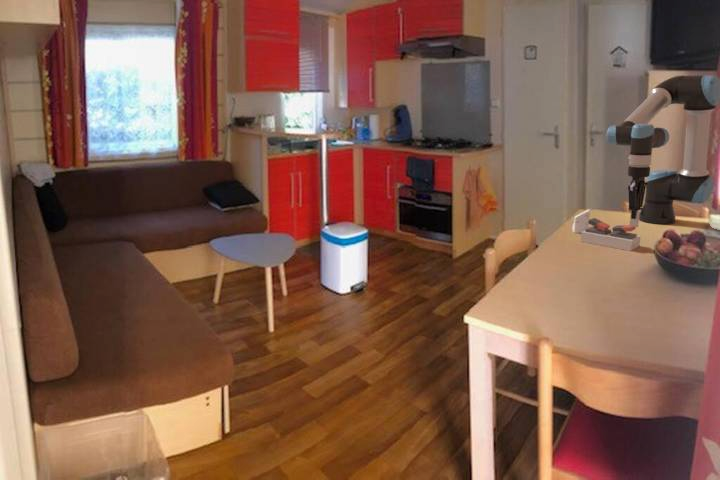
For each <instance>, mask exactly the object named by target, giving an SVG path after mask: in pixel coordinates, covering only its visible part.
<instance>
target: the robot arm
mask: <svg viewBox="0 0 720 480" xmlns="http://www.w3.org/2000/svg"><path fill="white" fill-rule="evenodd" d="M719 104H720V78H719V77H718V76H716V75H707V74H705V75H703V74H700V75H699V74H697V75H676V76H673V77H669V78H667V79H665V80H663V81H661V82H660V83H659V84H657V85H656V86H655V87H654V88H652V89H651V90H650V92H649V93H648V97H647V98H645V100H644V101H643V102H642V103H641V104H639V106H638V107H637V108H636V109H635V110H634V111H633V112H632V113H631V114H630V115H628V116H627V118H626V119H625V120H624V121H623V122H621V124H620V125H617V124H616V125H610V126H609V127H608V128H607V130H606V134H605V135H606V136H605V138H606V142H607V143H608V144H609V145H616V146H626V147H627V146H628V147H630V149H629V156H627V158H628V160H629V161H628V165H629V166H628V168H627V169H628V170H627V176H629V177H631V182H630V185H628V187H627V190H628V211H630V217H629V225H630V227H636V228H638V227H639V221H640V222H645V223H649V224H657V225H658V224H659V225H670V224H674V223H675V222H676V214H675V213H676V212H675V208H674V201H678V202H684V203H691V204H697V205H699V204H704V203H706V202H707V201H708V200H709V199H710V197H711V195H712V193H713V190H714V187H715V179H714V178H713V177H710V171H709V170H708V169H707V159H708V158H707V157H708V147H709V137H710V127H711V125H710V123H711V117H712V115H711V114H712V112H713V111H714V110H715V109H716V106H718V105H719ZM670 105H683V111H685V113H687V114H686V126H685V129H686V130H685V142H684V150H683V151H684V154H683V164H682V165H683V167H682V169H680V170H679V171H677V170H676V169H660V170H659V169H658V170H653V171H651V167H650V165H652V153H653V152H652V151H653V149H656V148H657V149H658V148H661V147H664V146H665V145H666V144H668V142H669V140H670V133H669V131H668V130H667V129H665V128H663V127H655V126H654V124H651V123H650V122H651V121H652V120H653V119H654V118H655V117H656V116H657V115H658V114H659V113H660V112H661V111H662V110H663V109H666V108H668V107H669V106H670ZM646 178H647V179H646ZM645 179H646V181H645Z"/></svg>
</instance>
